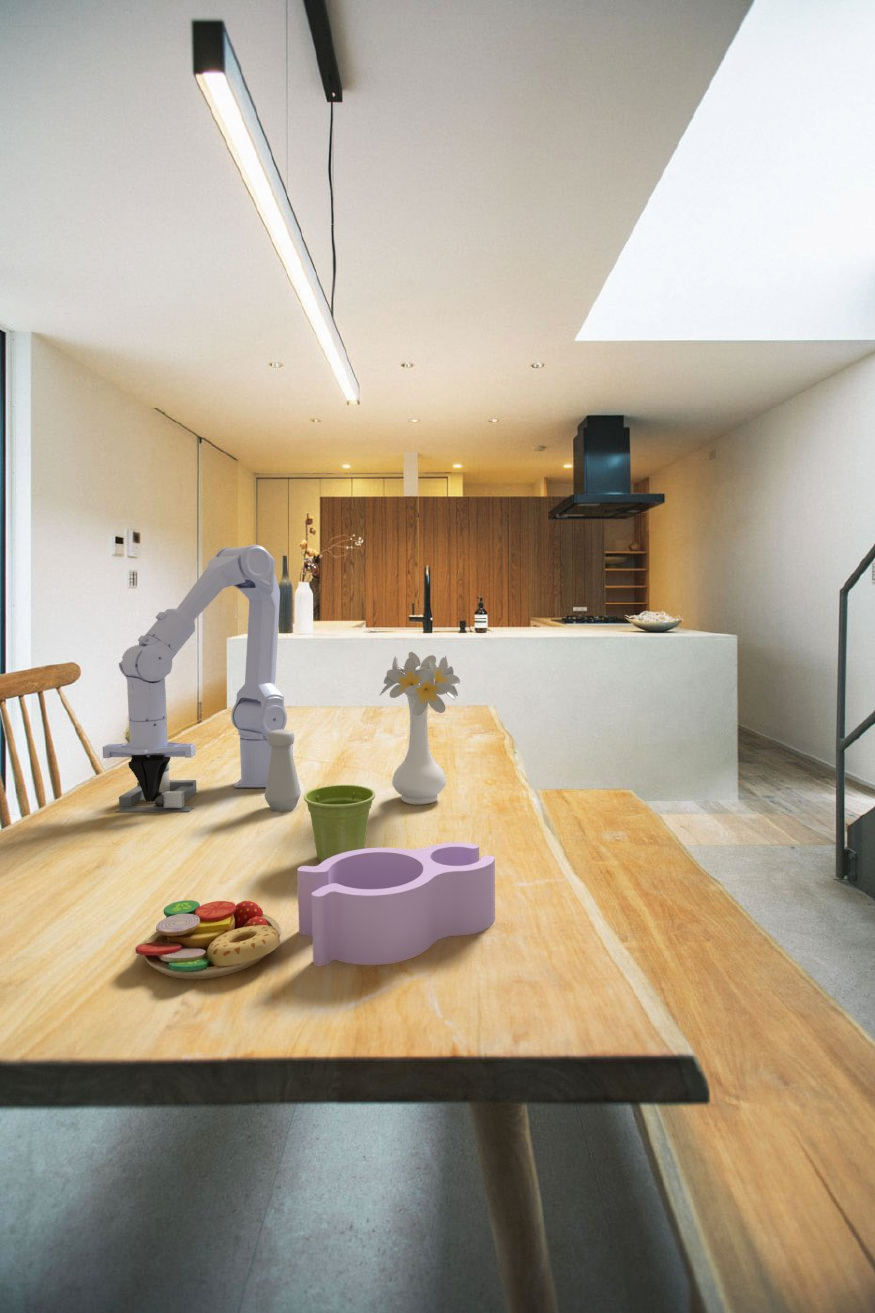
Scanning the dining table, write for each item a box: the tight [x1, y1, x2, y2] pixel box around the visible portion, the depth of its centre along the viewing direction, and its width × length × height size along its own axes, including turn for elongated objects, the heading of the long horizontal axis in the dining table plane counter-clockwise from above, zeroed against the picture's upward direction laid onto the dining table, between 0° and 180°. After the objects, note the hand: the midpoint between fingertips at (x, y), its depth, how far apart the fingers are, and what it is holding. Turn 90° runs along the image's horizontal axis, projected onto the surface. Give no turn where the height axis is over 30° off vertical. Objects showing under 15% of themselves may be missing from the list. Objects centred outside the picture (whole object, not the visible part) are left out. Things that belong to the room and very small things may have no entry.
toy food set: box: [135, 899, 282, 980], centre depth 68 cm, size 13×13×3 cm
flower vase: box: [379, 651, 461, 806], centre depth 117 cm, size 13×18×25 cm
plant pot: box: [303, 784, 376, 863], centre depth 92 cm, size 9×9×9 cm
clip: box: [296, 841, 496, 967], centre depth 72 cm, size 20×12×7 cm, turn 113°
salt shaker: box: [264, 728, 302, 813], centre depth 114 cm, size 6×6×13 cm
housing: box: [115, 779, 197, 813], centre depth 118 cm, size 13×12×2 cm
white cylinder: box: [153, 762, 171, 802], centre depth 120 cm, size 4×4×8 cm
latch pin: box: [154, 791, 186, 808], centre depth 114 cm, size 4×2×2 cm, turn 89°
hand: (151, 800), depth 114 cm, fingers closed
